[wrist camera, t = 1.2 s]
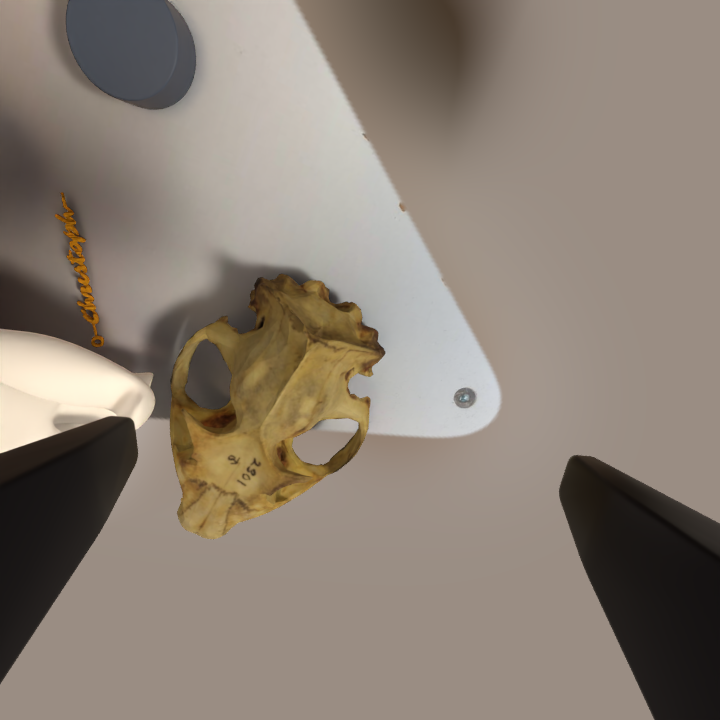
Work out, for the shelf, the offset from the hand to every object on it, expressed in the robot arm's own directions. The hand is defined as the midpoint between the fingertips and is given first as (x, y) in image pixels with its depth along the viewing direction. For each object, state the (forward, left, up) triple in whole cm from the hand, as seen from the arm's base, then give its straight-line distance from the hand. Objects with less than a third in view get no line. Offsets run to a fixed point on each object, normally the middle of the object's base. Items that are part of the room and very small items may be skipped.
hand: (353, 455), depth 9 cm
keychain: (+9, +11, -15) cm, 21 cm away
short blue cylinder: (+14, +2, -15) cm, 21 cm away
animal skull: (0, +6, -17) cm, 18 cm away
